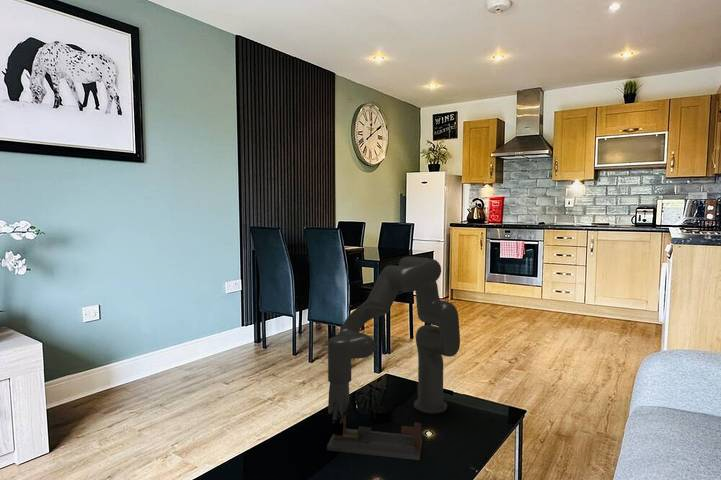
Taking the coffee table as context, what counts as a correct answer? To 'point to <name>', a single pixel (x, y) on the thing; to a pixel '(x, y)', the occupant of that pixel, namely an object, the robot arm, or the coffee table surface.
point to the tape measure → (381, 414)
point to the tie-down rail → (383, 443)
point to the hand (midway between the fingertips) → (340, 430)
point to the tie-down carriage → (352, 431)
